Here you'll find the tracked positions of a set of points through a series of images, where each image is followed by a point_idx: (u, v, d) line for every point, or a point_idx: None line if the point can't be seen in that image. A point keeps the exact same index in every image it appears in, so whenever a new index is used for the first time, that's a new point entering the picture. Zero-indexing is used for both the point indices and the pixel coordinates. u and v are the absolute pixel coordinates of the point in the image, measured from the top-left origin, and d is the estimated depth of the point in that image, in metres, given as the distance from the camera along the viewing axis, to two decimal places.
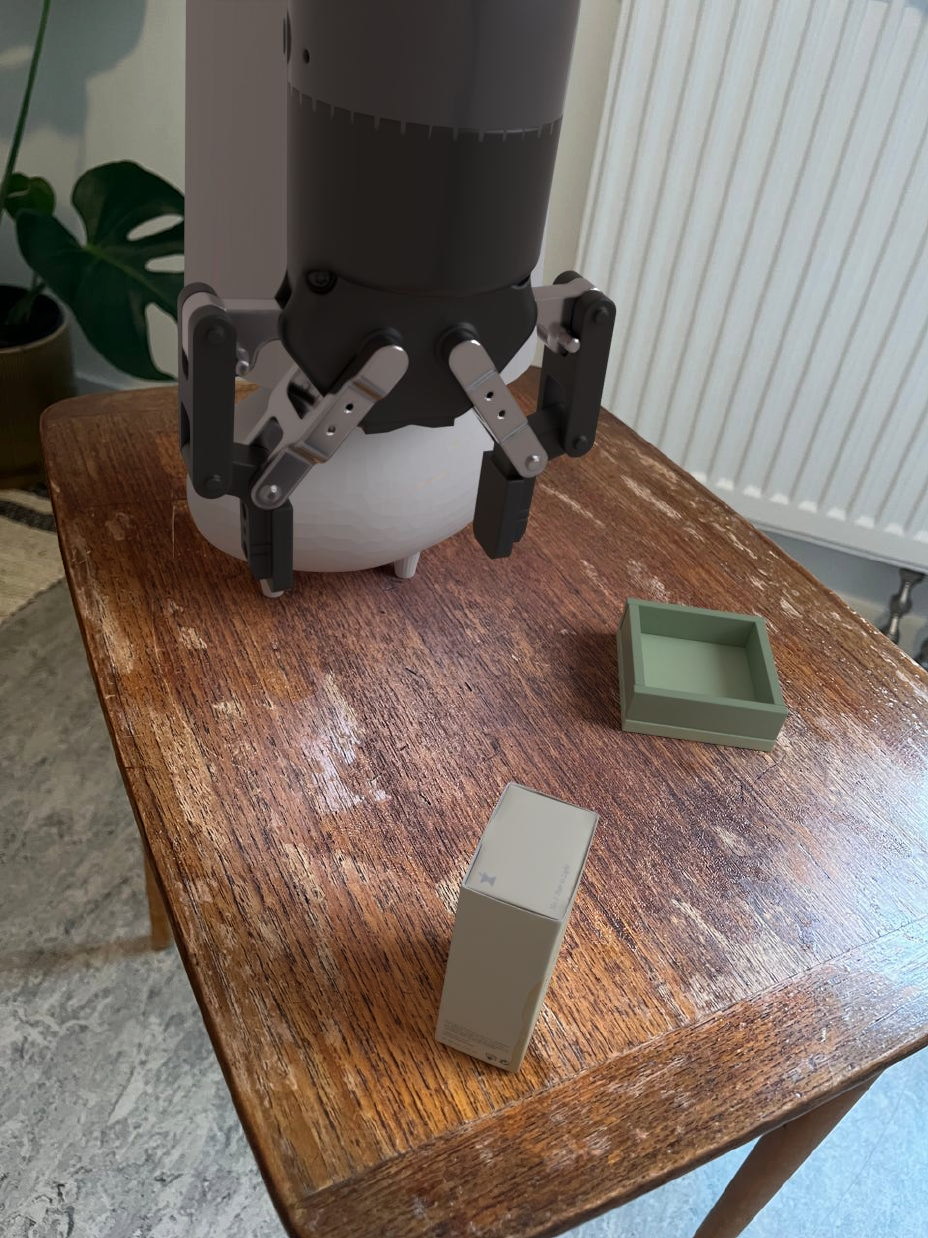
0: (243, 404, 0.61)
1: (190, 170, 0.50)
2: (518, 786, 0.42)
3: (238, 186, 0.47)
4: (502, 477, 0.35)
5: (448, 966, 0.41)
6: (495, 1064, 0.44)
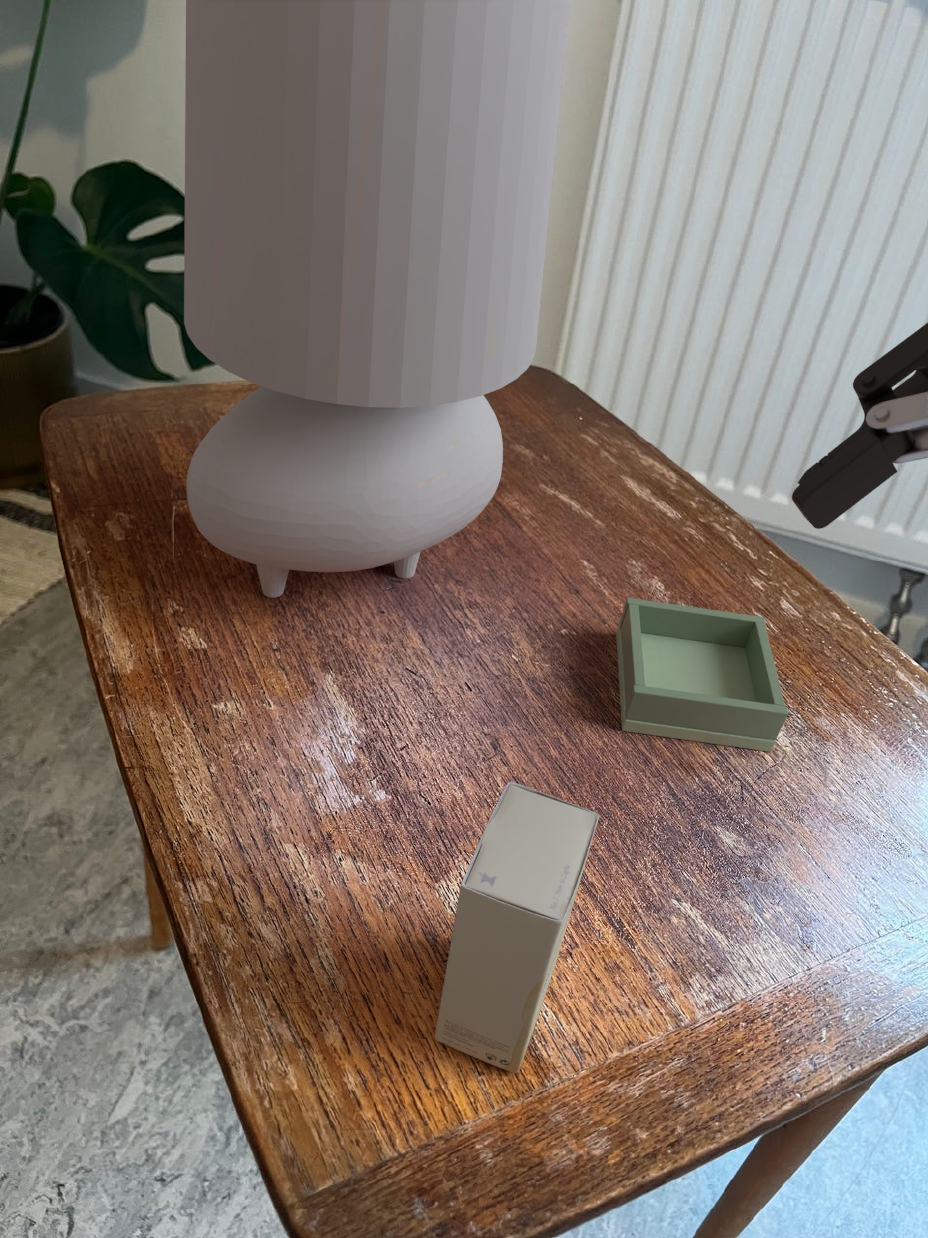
0: (243, 404, 0.61)
1: (190, 170, 0.50)
2: (518, 786, 0.42)
3: (238, 186, 0.47)
4: None
5: (448, 966, 0.41)
6: (495, 1064, 0.44)
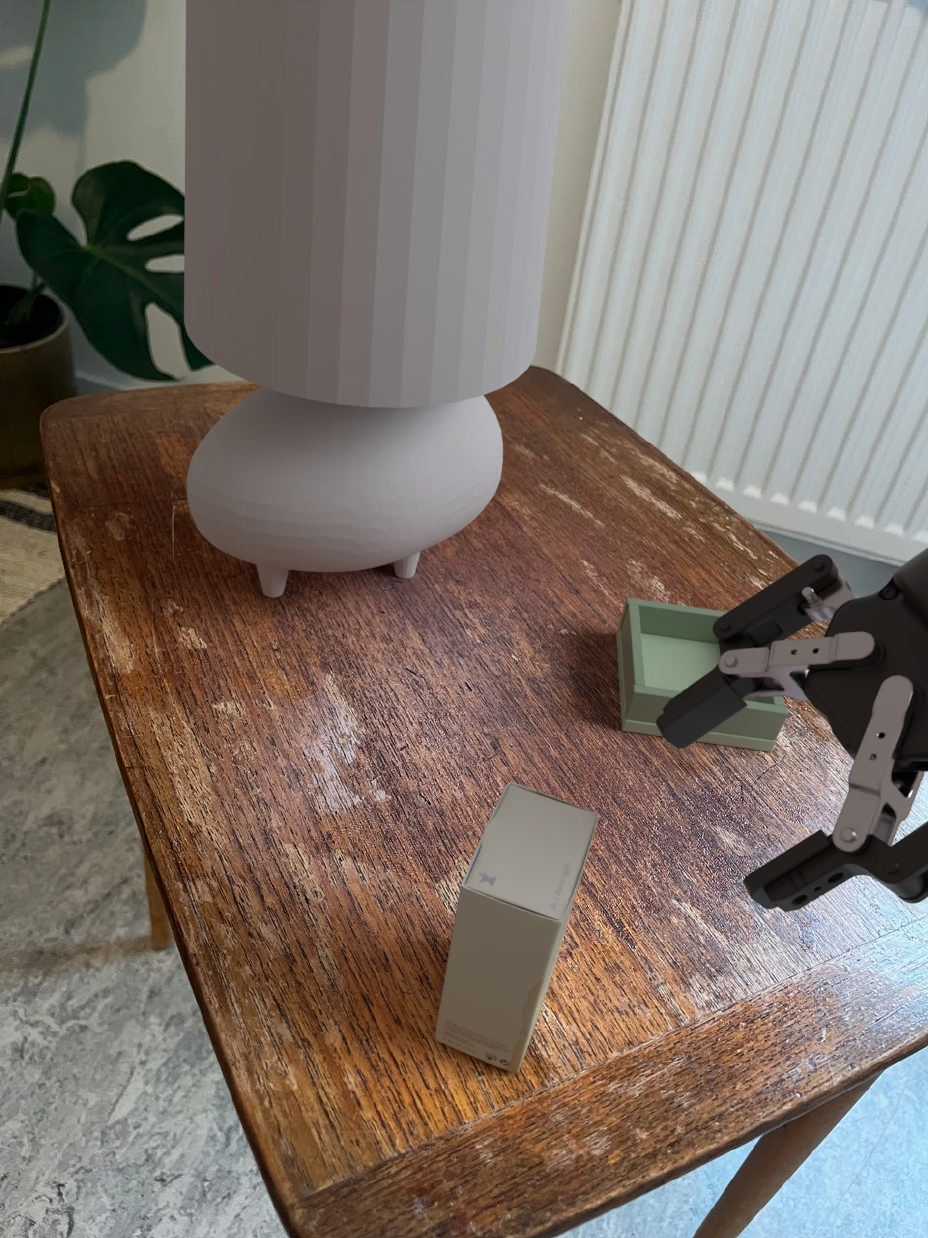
0: (243, 404, 0.61)
1: (190, 170, 0.50)
2: (518, 786, 0.42)
3: (238, 186, 0.47)
4: None
5: (448, 966, 0.41)
6: (495, 1064, 0.44)
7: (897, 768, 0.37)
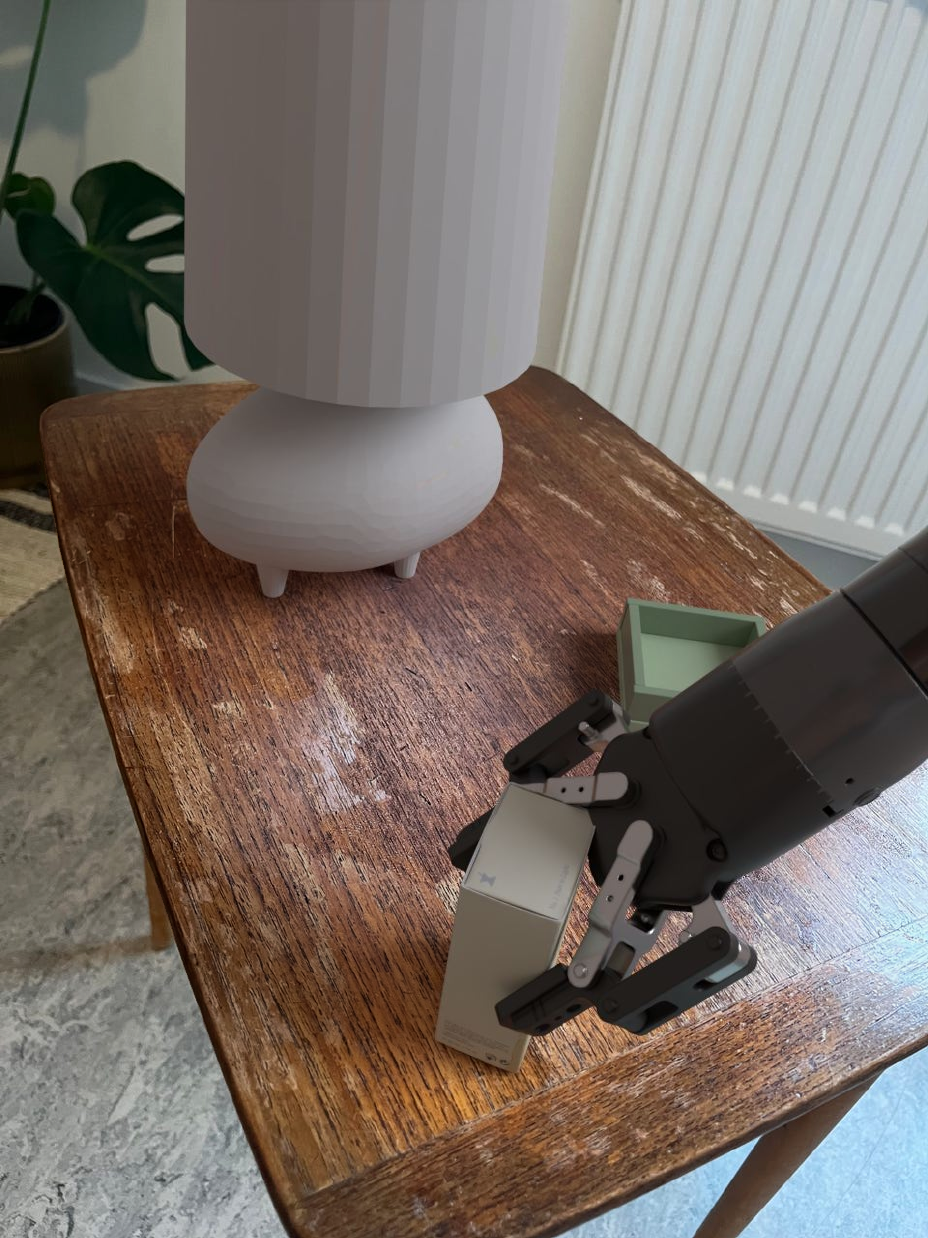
0: (243, 404, 0.61)
1: (190, 170, 0.50)
2: (518, 786, 0.42)
3: (238, 186, 0.47)
4: None
5: (448, 966, 0.41)
6: (495, 1064, 0.44)
7: (645, 906, 0.39)
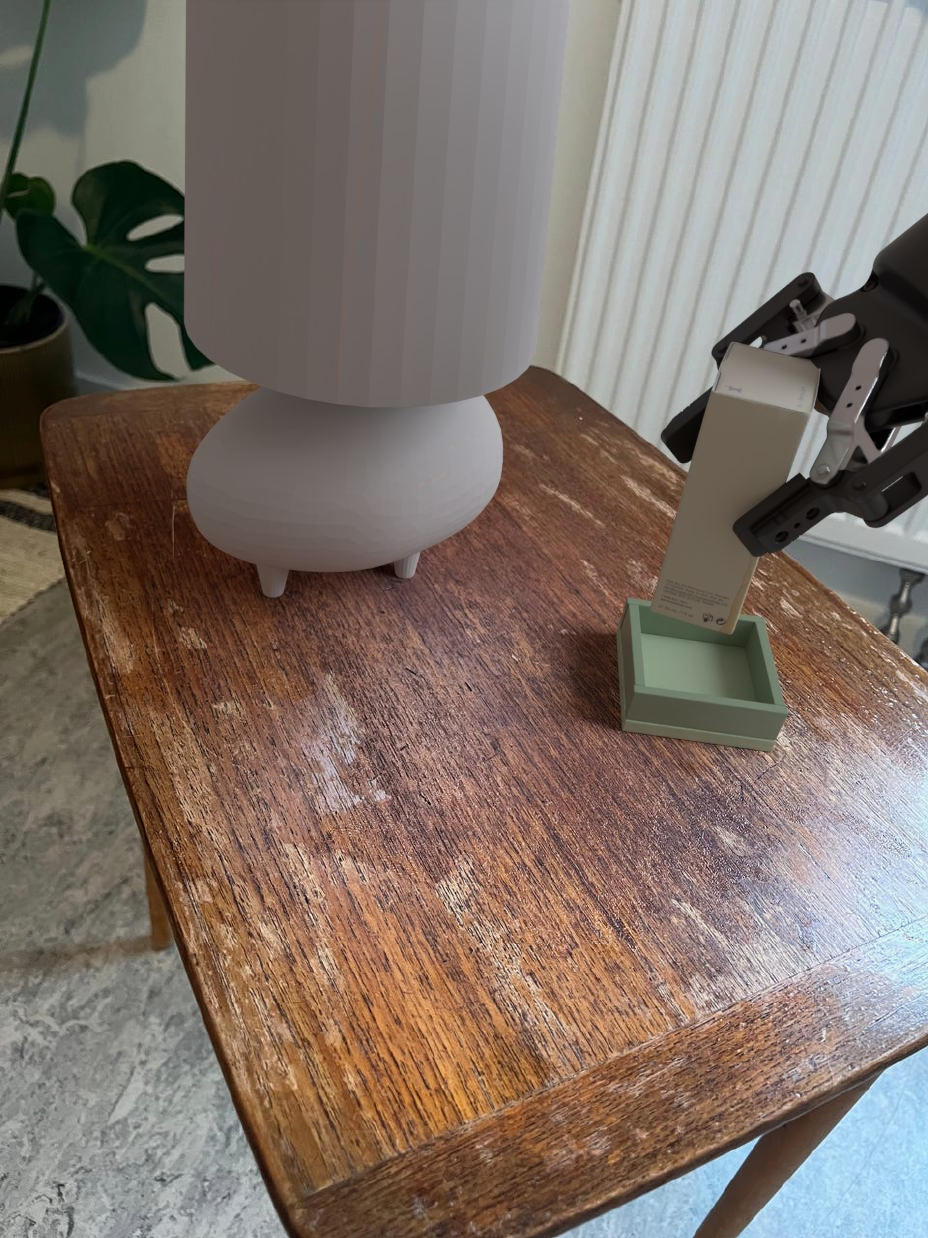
0: (243, 404, 0.61)
1: (190, 170, 0.50)
2: (741, 344, 0.45)
3: (238, 186, 0.47)
4: None
5: (681, 505, 0.44)
6: (710, 626, 0.47)
7: (875, 424, 0.42)
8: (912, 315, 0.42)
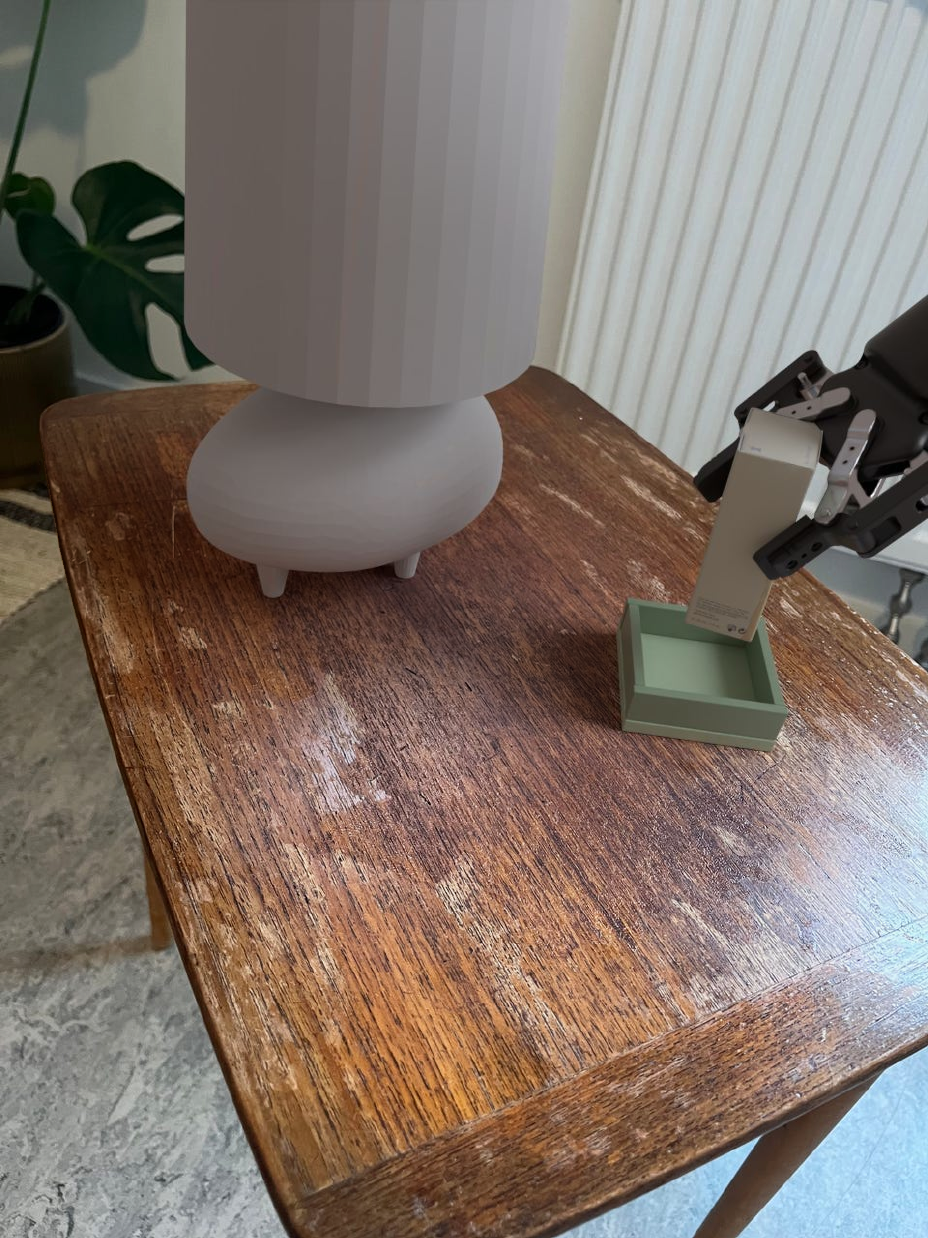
0: (243, 404, 0.61)
1: (190, 170, 0.50)
2: (759, 410, 0.56)
3: (238, 186, 0.47)
4: None
5: (711, 538, 0.55)
6: (733, 635, 0.58)
7: (866, 476, 0.53)
8: (895, 390, 0.53)
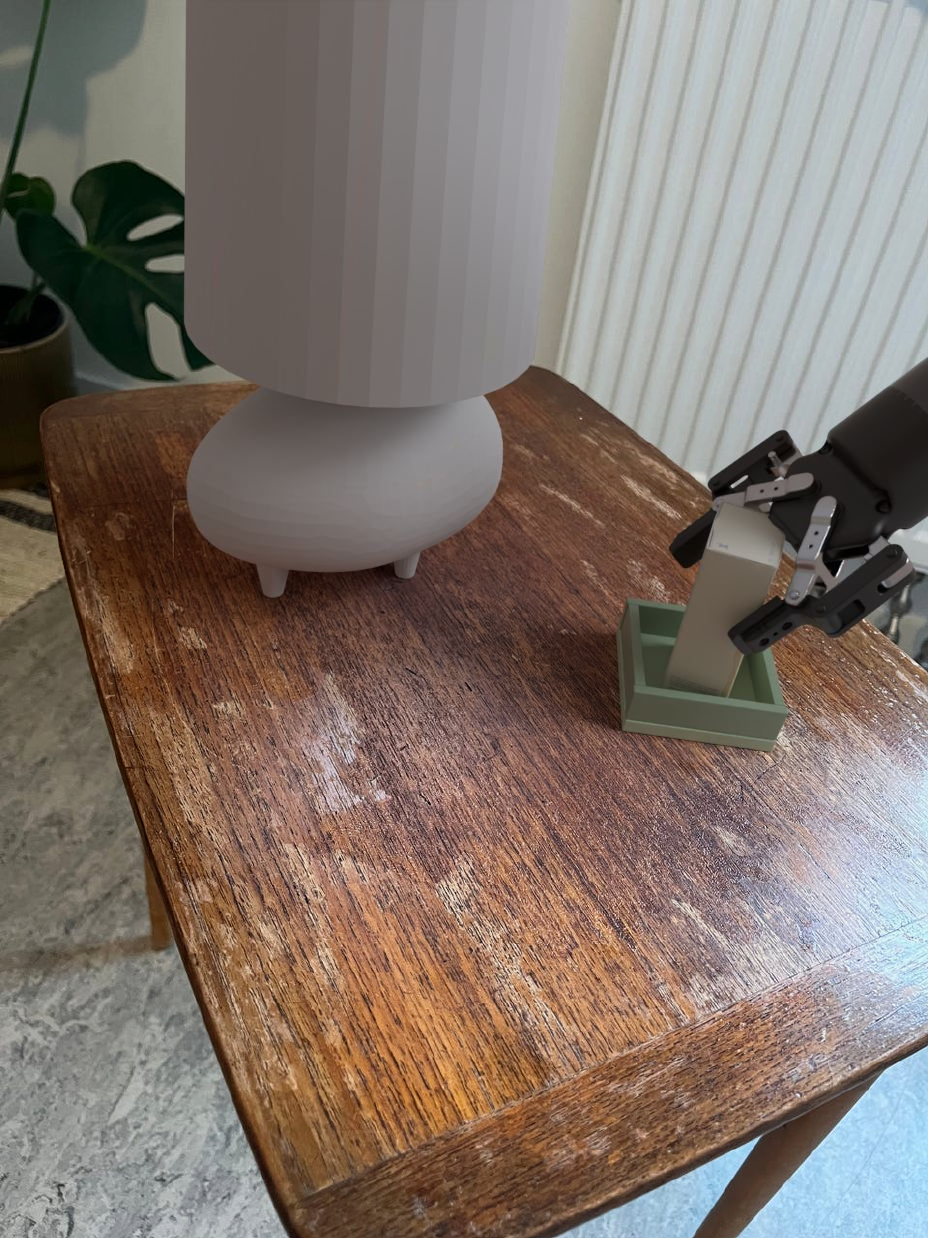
0: (243, 404, 0.61)
1: (190, 170, 0.50)
2: (728, 503, 0.60)
3: (238, 186, 0.47)
4: None
5: (683, 623, 0.59)
6: None
7: (828, 558, 0.57)
8: (854, 478, 0.57)
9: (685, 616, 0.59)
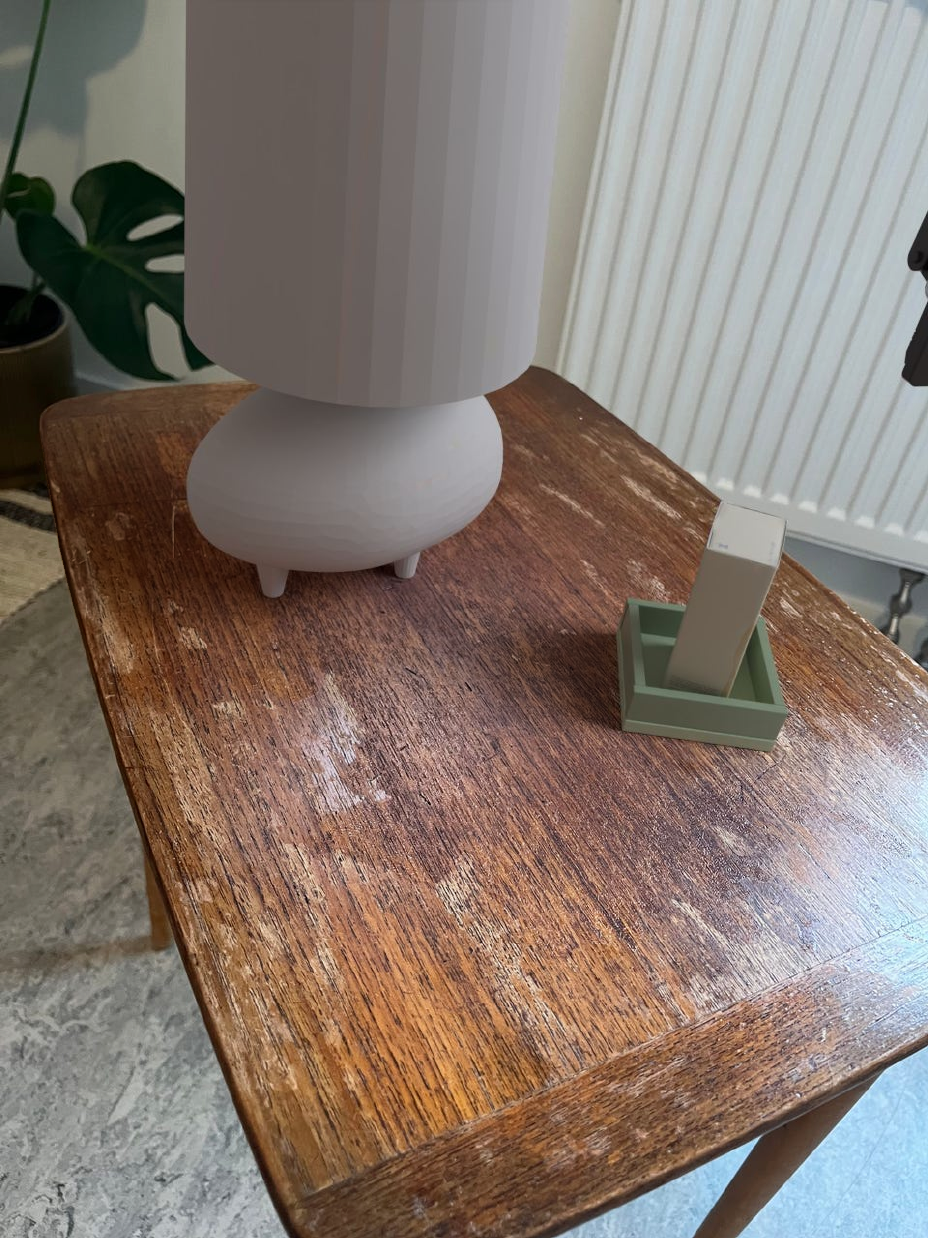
0: (243, 404, 0.61)
1: (190, 170, 0.50)
2: (728, 503, 0.60)
3: (238, 186, 0.47)
4: None
5: (683, 623, 0.59)
6: None
7: None
8: None
9: (685, 616, 0.59)
